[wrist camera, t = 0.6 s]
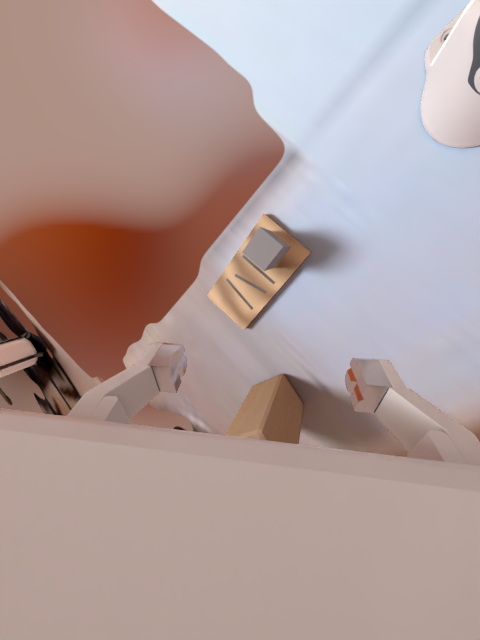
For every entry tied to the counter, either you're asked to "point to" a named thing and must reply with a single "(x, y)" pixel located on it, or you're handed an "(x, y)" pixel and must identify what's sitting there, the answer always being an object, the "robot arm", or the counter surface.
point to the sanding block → (266, 249)
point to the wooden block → (270, 413)
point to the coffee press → (17, 354)
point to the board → (255, 278)
